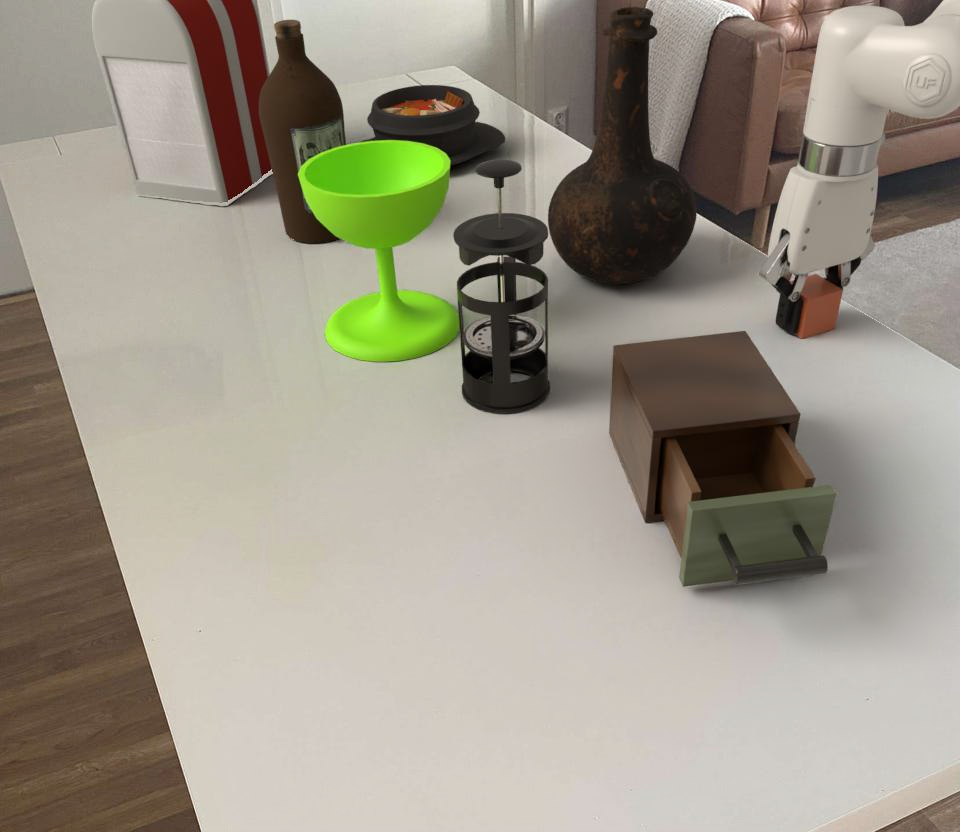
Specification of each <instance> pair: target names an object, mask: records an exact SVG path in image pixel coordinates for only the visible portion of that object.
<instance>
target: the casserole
mask: <svg viewBox="0 0 960 832" xmlns="http://www.w3.org/2000/svg"><path fill="white" fill-rule="evenodd" d="M370 109H371V110H370V113H369V114H368V116H367V117H366V121H367V124H368V125H369V126H370V127H371V129H372V131H373V134H374V137H371V138H368V139H364V140H361V141H358V142H357V143H360V142H367V141H380V140H399V141H411V142H417V143H423V144H427V145H430V146H433V147H436V148H438V149H440V150H441V151H443V152H444V153H446V154H447V156H448V157H449V159H450V167H452V166H455V165H458V164H461V163H463V162H466V161H469V160H470V159H473V158H475V157H476V156H478V155H481V154H483V153H485V152H488V151H491V150H494V149H497V148H499V147H501V146H502V145H503V144H505V142H506V136H505V134H504V133H503V132H502V131H501V130H500V129H499V128H497V127H495V126H493V125H490V124H488V123H485V122H480V121H477V120H478V118H479V116H480V113H481V112H480V109H479V107H477V105H476V104H475V102H474V99H473V96H472V94H471V93H470V92H469V91H467V90H465V89H462V88H460V87H456V86H450V85H442V84H441V85H440V84H421V85H412V86H406V87H401V88H396V89H393V90H390V91H387V92H384V93H383V94H380V95H379V96H377V97H376V98H375V99H374V100H373V102H372V104H371V108H370Z"/></svg>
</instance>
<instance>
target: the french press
mask: <svg viewBox="0 0 960 832" xmlns="http://www.w3.org/2000/svg"><path fill="white" fill-rule="evenodd" d="M522 169H523V168H522V165H521V163H519V162H518V161H515V160H512V159H505V158H495V159H490V160H486V161H483V162H481V163H479V164H477V166H475V173H476V174H477V175H479V176H480V177H483V178H487V179H493V187H494V188H495V189H496V191H497V192H496V194H497V212H495V213H487V214H482V215H478V216H475V217H472V218H469V219H467V220H464V221H463V222H461V223H460V224H459V225H458V226H457V227H455V229H454V230H453V241H454V243H455V244H456V245H457V246H458V255H459V261H460V262H461V263H462V264H463V265H465V266H471V265H473V264H475V263H477V262H479V261H480V260H482V259H484V258H487V257H489V256H495V257H497V261H494V262H493V261H492V262H486V263H483V264H479V265H476V266H473V267H471V268H469V269H467V270H465V272H462V273H461V275H459V276H458V279H457V281H456V292H457V293H456V294H457V295H456V297H457V308H458V311H457V312H458V315H459V326H460V330H459V340H460V341H459V342H460V354H461V355H460V356H461V370H462V371H461V372H462V384H461V395H462V397H463V399H464V401H465V402H466V403H467V404H468V405H470V406H471V407H473V408H475V409H477V410H479V411H483V412H486V413H492V414H514V413H521V412H525V411H528V410H531V409H533V408H535V407H537V406H539V405H541V404H542V403H544V401H546V399H548V396H549V395H550V392H551V381H550V380H549V277H548V275H547V274H546V272H544V271H543V270H542V269H541V268H539V267H537V266H535V265H536V264H537V263H538V262H540V261H541V260H542V258H543V257H544V243H545V241H546V240H547V239H548V236H549V227H548V225H546V223H545V222H543V221H542V220H541V219H539V218H537V217H534V216H531V215H527V214H522V213H513V212H503V205H502V202H503V201H502V200H503V199H502V198H503V197H502V188H504V187H505V178H509V177H510V178H511V177H513V176H516V175H518V174H519V173H520V172H521V171H522ZM517 260H518V261H520V262H518V261H517ZM494 276H496V277H497V278H496V279H497V280H496V282H497V301H488V300H482V299H481V300H480V299H478V298H474V297H472V296H469V295H468V294H466V293H465V292H464V291H462V290H463V289H464V288H465V287H466V286H468V285H469V284H471V283H473V282H475V281H478V280H481V279H483V278H488V277H494ZM517 276H518V277H524V278H528V279H531V280H534V281H535V282H537V283H539V284H540V285H541V286H543V287H542V289H540V290H539V291H538V292H536V293H534V294H532V295H530V296H527V297H525V298H522V299H517ZM542 304H544V326H543V325H542V324H541V323H540V322H538V321H537V320H535V319H533V318H531V317H527V316H524V315H519V314H523V313H527V312H529V311H532V310H535V309H536V308H539V307H540V306H542ZM463 308H465V309H467V310H468V311H470V312H473V313H476V314H480V315H483V316H485V315H486V317H483V318H480V319H477V320H476V321H473V322H471V324H469V325H468V326H466V328H465V329H464V314H463ZM543 343H544V350H543V349H542V348H541V347H542V345H543ZM466 348H467V350H469V351H468V352H467V353H466ZM511 372H518V373H523V374H525V375H528V376H530V377H529V378H527V379H523V380H519V381H513V382H511V381H512V379H511ZM489 374H492V382H491V381H486V380H482V379H481V378H483V377H484V376H486V375H489Z"/></svg>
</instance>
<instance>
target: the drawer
mask: <svg viewBox="0 0 960 832" xmlns="http://www.w3.org/2000/svg"><path fill="white" fill-rule="evenodd" d="M815 482H816V476H815V474H814V473H813V471H812V470H811V468H810V467H809V465H808V464H807V462H806V461H805V459H804V457H803V456H802V454H801V453H800V450H799V449H798V448H797V446H796V445H794V443H793V441H792V440H791V438H790V437H789V435H788V434H787V432H786V430H785V429H784V427H783V426H782V424H777V425H768V426H759V427H751V428H742V429H734V430H725V431H716V432H708V433H699V434H691V435H682V436H674V437H665V438H661V447H660V458H659V469H658V479H657V490H656V501H657V503H658V506H659V508H660V510H661V513H662V515H663V517H664V522H665V524H666V527H667V529H668V531H669V533H670V536H671V538H672V541H673V543H674V545H675V548H676V550H677V552H678V555H679V557H680V567H679V574H678V579H679V582H680V583H681V587H683V588H686V587H691V586H692V587H693V586H699V585H700V586H701V585H708V584H717V583H725V582H731V581H732V583H733V584H734V585H736V586H737V585H738V586H739V585H745V584H754V583H761V582H768V581H769V582H770V581H777V580H785V579H793V578H802V577H808V576H810V577H811V576H817V575H818V576H819V575H825V574H827V572H828V568H829V563H828V559H827V557H826V556H825V555H822V554H823V551H824V546H825V542H826V537H827V534H828V531H829V526H830V522H831V519H832V514H833V510H834V508H835V507H834V506H835V502H836V499H837V495H838V493H837V492H836V489H835V488H834V487H833V485H832V484H825V485H817V486H815Z"/></svg>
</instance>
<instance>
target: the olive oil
mask: <svg viewBox="0 0 960 832" xmlns="http://www.w3.org/2000/svg"><path fill="white" fill-rule="evenodd" d="M301 25H302V24H301V21H300V20H298V19H282V20H279V21H276V22H275V23H274V24H273V27H274V31H275V34H276V35H275V37H274V39H275V44H276V49H277V54H278V59H277V62H275V65H274V67H273V68H272V69H271V72H270V73H269V77H268V78H267V80H266V82H265V83H264V85H263V87H262V89H261V92H260V97H259V117H260V122H261V126H262V130H263V134H264V138H265V143H266V147H267V151H268V155H269V159H270V164H271V168H272V172H273V174H272V177H273V180H274V181H273V182H274V185H275V189H276V193H277V194H276V195H277V199H278V203H279V207H280V211H281V218H282V222H283V226H284V231H285V234H286V236H287V235H288V236H289V237H290V238H289V237H288V236H287V237H288V238H289V239H291V238H292V239H294V240H293V241H295V240H296V241H295V242H298V241H300V242H299V243H302V242H306V243H305V244H322V243H329V242H333V241H336V240H339V239H340V238H338V237H336V236H335V235H334V234H332V233H331V232H330V231H329V230H328V229H327V228H326V227H325V226H324V225H323V224H322V223H321V222H320V221H319V220H318V219H317V218H316V217H315V215H314V214H313V212H312V210H311V209H310V207H309V205H308V204H307V202H306V199H305V197H304V194H303V190H302V187H301V184H300V180H299V177H298V172H299V170H300V167H301V166H302V165H303V164H304V163H305V162H306V161H307V160H308V159H310V158H312V157H314V156H316V155H317V154H319V153H322V152H324V151H327V150H330V149H333V148H336V147H340V146H344V145H347V141H346V129H345V116H344V107H343V102H342V98H341V96H340V93H339V91H338V88H337V87H336V85H335V84H334V82H333V81H332V80H331V78H330V77H329V76H328V75H327V74H326V73H324V71H322V70H321V69H320V68H319V67H318V66H317V65H316V64H315V63H314V62H313V61H312V60H310V59H309V57H308V56H307V53H306V47H305V39H304V34H303V33H302V26H301ZM292 239H291V240H292ZM307 242H308V243H307Z"/></svg>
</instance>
